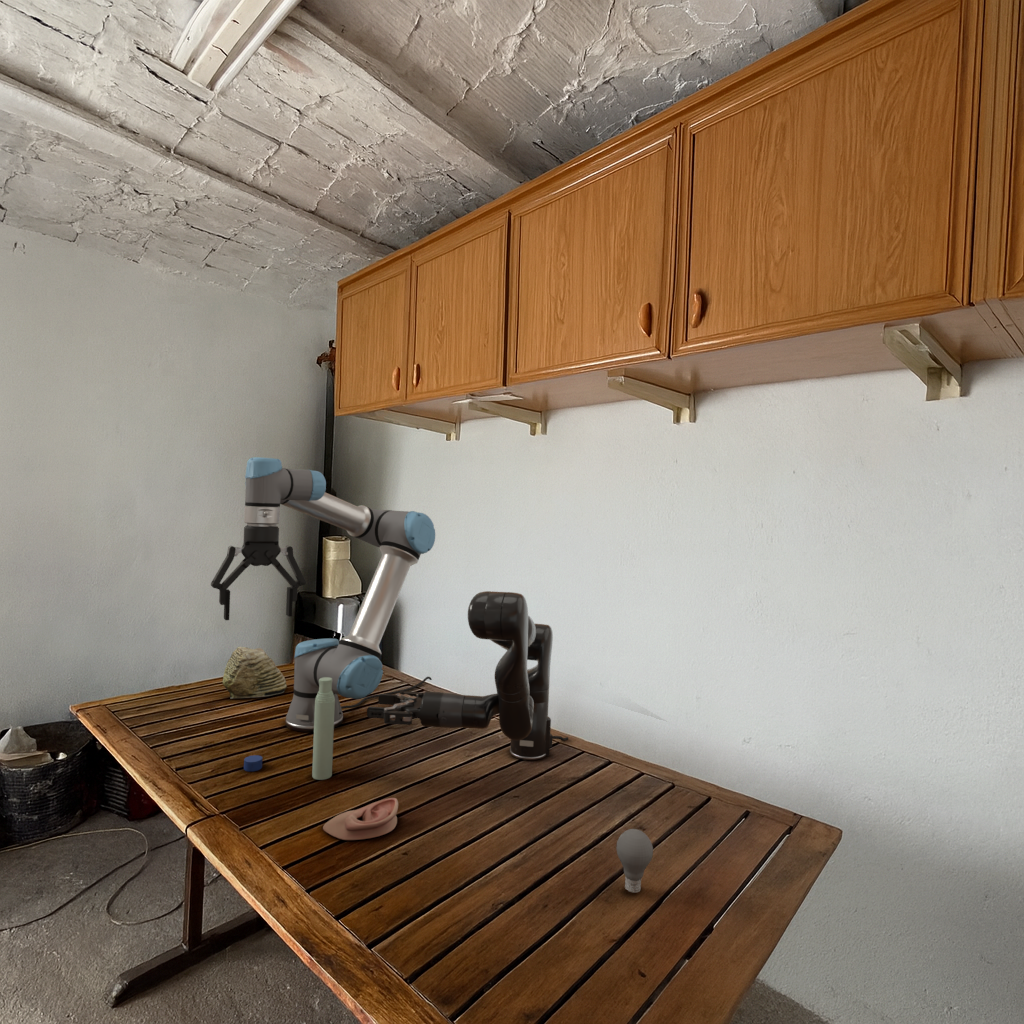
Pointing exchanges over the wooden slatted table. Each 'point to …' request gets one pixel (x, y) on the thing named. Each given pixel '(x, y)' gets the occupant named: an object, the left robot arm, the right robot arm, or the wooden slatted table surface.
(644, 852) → the light bulb
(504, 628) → the right robot arm
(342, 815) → the anatomical model
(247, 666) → the fossil
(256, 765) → the cap
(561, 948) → the wooden slatted table surface
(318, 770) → the bottle
